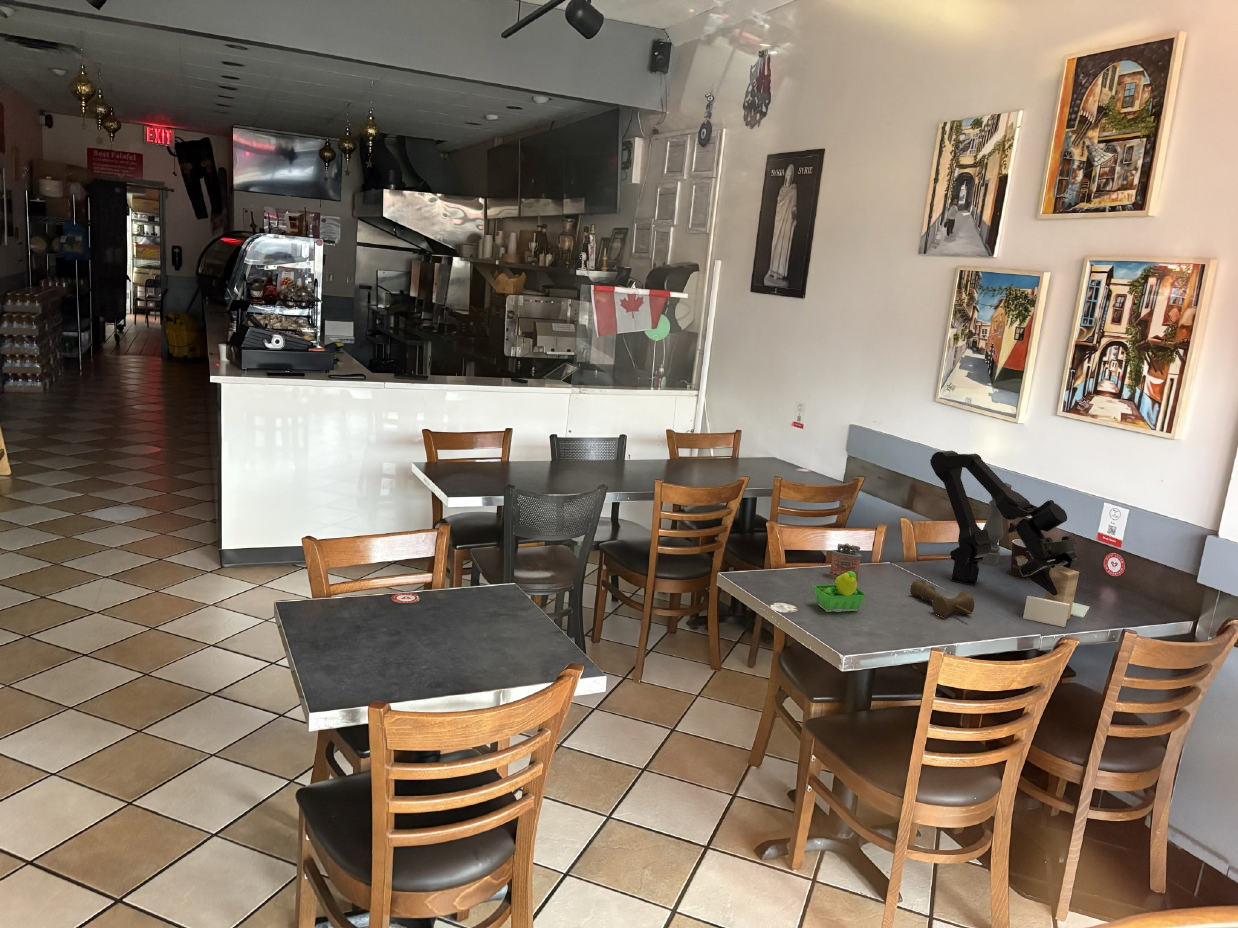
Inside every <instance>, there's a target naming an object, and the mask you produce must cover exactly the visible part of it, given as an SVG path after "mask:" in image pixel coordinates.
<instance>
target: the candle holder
mask: <svg viewBox="0 0 1238 928" xmlns="http://www.w3.org/2000/svg"><path fill="white" fill-rule="evenodd" d="M1003 483H1004V484H1005V485H1006V486H1007V487H1008V488H1010V489H1011V490H1012V484H1011V483H1006V482H1003ZM990 496H991V495H990ZM988 503H989V504H988V505H989V506H990V509H989V515H988V517H987V519H986V522H985V524H984V526H983V528H982V530H984V529H986V530H987V531H988V536H989V538H990V540H991V541H992V543H990V544H991V550H990V552H989V553H988V555H986V556H985V557H984V558H983V560H982V561H978V563H979V562H980V563H982V564H984V565H990V566H996V565H998V564H999V560H1000V559H999V558H1000V554H1001V553H1000V549H1001V548H1000V546H999V543H1000V541H1001V540H1002V538H1003V537H1004V524H1003V518H1004V517H1003V516H1002V515H1001V513H1000V511H999V510H998V508H997V507H996V504H995V500H994V498H993V497H992V496H991V499H990V500H989V501H988Z"/></svg>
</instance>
